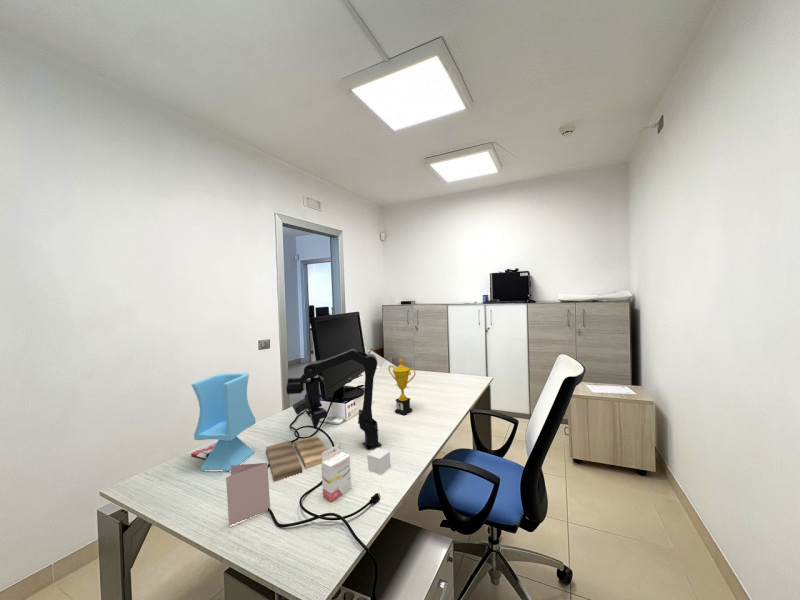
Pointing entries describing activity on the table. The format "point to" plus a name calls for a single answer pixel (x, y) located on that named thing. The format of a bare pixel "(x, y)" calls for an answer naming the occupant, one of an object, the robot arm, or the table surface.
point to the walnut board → (283, 460)
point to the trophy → (402, 387)
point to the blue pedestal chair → (224, 418)
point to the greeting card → (247, 491)
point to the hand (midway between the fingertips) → (315, 428)
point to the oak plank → (310, 451)
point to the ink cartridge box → (335, 473)
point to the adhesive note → (379, 460)
